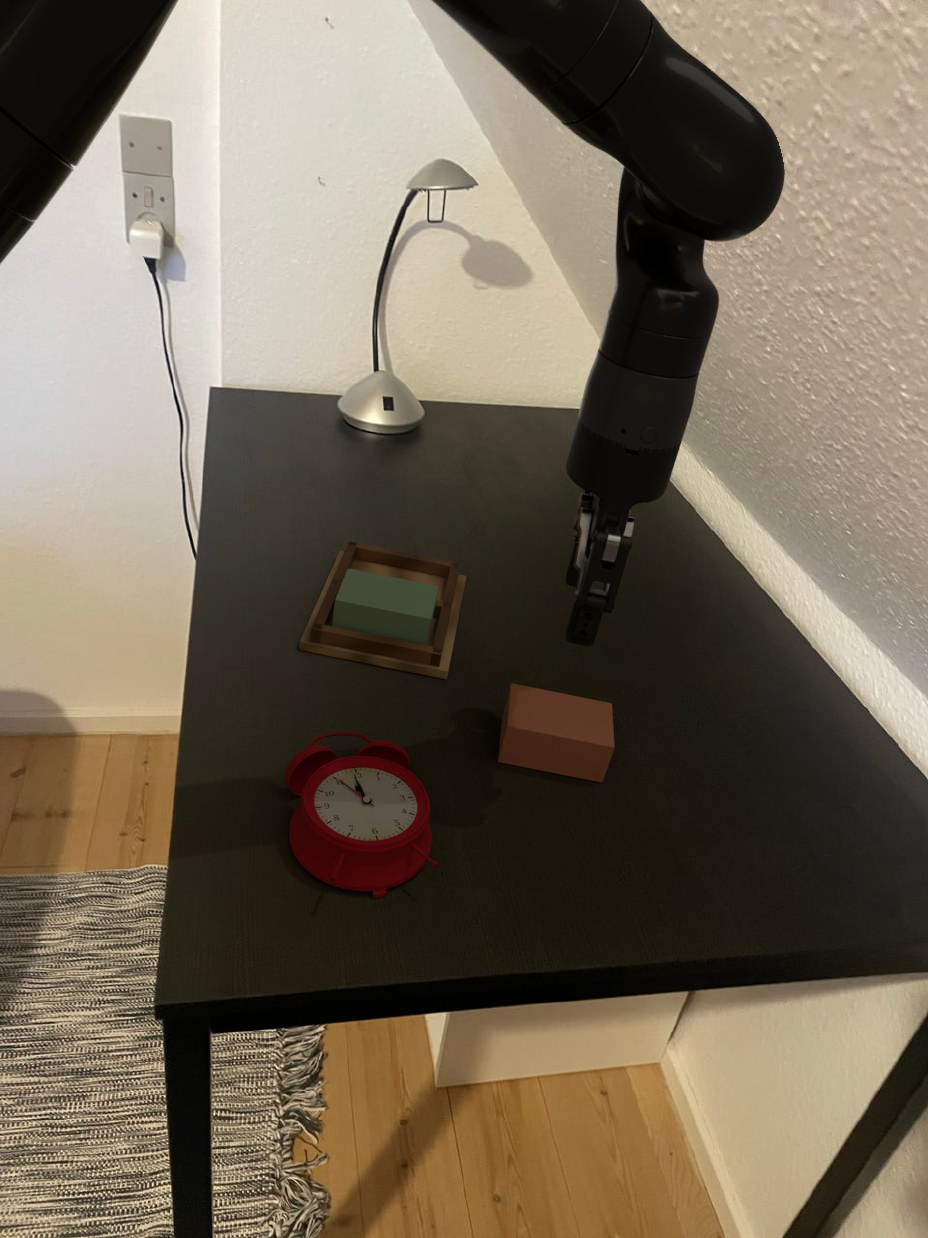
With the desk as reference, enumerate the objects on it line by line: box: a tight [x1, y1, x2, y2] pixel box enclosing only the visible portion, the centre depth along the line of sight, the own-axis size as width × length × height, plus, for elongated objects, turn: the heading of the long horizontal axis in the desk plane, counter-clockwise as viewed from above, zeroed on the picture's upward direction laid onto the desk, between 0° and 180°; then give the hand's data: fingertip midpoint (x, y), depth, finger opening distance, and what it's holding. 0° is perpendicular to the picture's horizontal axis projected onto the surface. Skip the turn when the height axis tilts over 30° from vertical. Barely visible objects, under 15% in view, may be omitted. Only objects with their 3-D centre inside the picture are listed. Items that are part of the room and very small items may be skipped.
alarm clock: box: [285, 731, 439, 900], centre depth 70 cm, size 10×6×15 cm
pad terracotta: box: [497, 682, 615, 783], centre depth 81 cm, size 9×6×4 cm, turn 84°
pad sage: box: [332, 568, 439, 645], centre depth 90 cm, size 9×6×4 cm, turn 84°
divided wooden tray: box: [298, 540, 467, 680], centre depth 94 cm, size 14×18×2 cm
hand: (577, 612), depth 75 cm, fingers open, 8 cm apart
